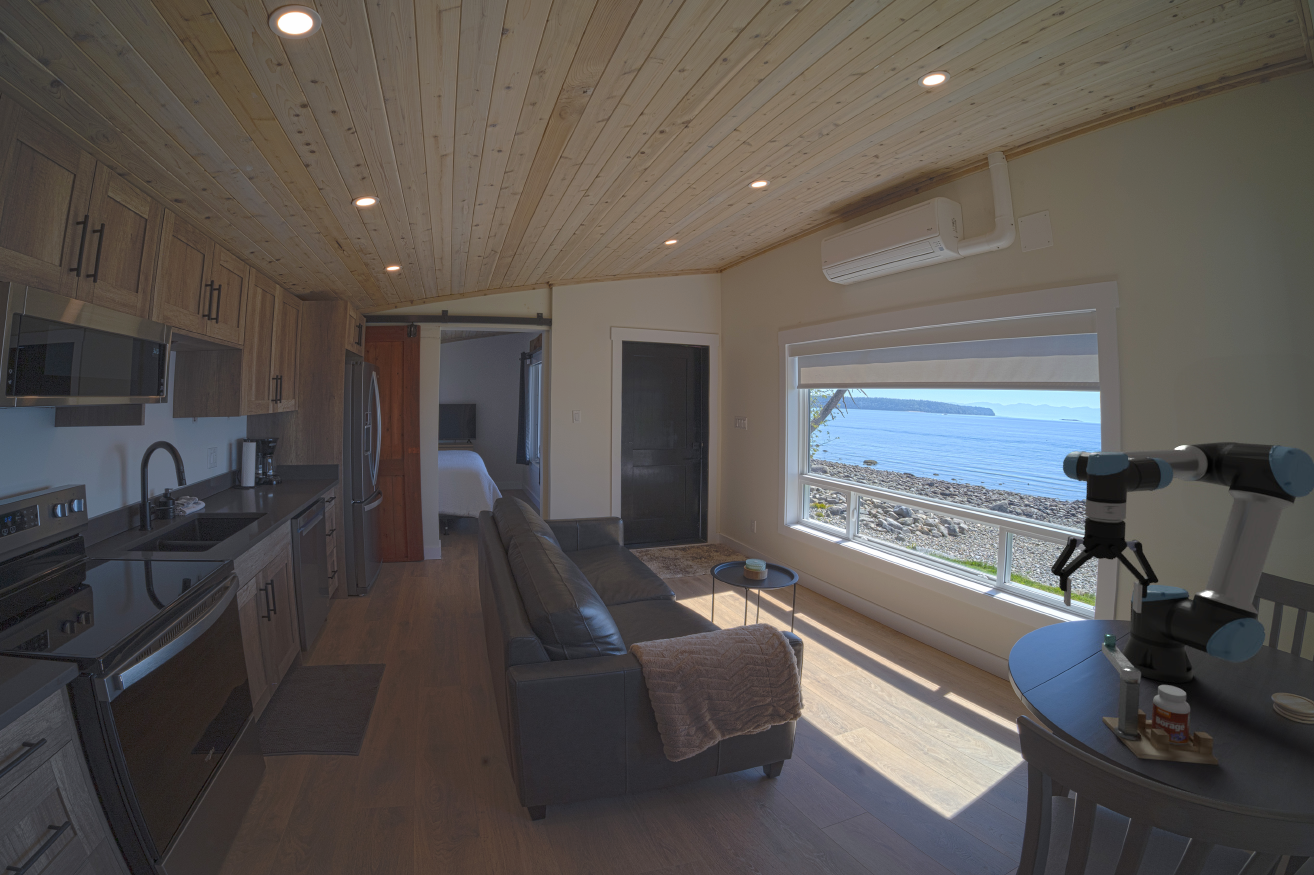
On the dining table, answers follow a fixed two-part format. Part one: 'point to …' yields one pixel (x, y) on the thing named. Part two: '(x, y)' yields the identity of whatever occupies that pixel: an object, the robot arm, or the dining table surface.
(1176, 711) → the pill bottle
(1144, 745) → the socket board
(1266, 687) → the dining table surface
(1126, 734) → the post
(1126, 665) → the keeper bar
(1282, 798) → the dining table surface
